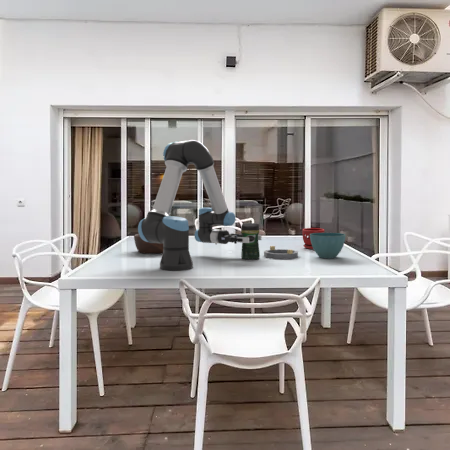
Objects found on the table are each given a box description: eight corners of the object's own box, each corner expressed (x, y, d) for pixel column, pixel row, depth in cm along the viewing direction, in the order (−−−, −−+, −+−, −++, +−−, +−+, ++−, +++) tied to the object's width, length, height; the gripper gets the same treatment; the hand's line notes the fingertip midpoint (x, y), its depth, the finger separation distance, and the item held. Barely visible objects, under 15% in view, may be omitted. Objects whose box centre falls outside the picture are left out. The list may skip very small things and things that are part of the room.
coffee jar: (259, 257, 212) (259, 222, 210) (259, 259, 204) (259, 223, 202) (241, 257, 212) (241, 222, 211) (240, 259, 204) (240, 223, 203)
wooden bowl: (130, 250, 243) (129, 233, 242) (170, 247, 253) (169, 231, 252) (139, 256, 220) (139, 237, 219) (183, 253, 230) (182, 235, 230)
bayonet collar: (295, 259, 204) (295, 250, 204) (261, 258, 210) (261, 249, 209) (299, 254, 221) (299, 246, 221) (268, 253, 226) (268, 245, 226)
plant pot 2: (305, 258, 207) (305, 235, 206) (314, 253, 223) (315, 231, 222) (341, 261, 199) (341, 236, 198) (348, 255, 215) (348, 233, 214)
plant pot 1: (297, 247, 247) (298, 228, 246) (314, 246, 253) (314, 227, 252) (311, 250, 236) (312, 230, 235) (328, 248, 242) (329, 229, 241)
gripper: (232, 241, 228) (265, 243, 217) (207, 246, 207) (243, 249, 196) (232, 228, 227) (265, 229, 216) (207, 231, 206) (243, 233, 195)
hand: (255, 238), depth 206 cm, fingers open, 13 cm apart
